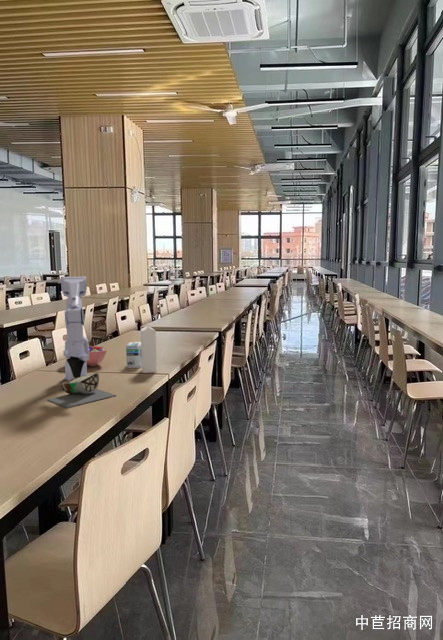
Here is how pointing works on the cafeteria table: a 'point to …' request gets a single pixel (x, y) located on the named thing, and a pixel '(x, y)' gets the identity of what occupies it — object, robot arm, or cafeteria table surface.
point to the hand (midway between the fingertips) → (76, 377)
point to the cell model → (96, 355)
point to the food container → (82, 384)
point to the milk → (148, 349)
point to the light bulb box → (133, 355)
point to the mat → (80, 398)
